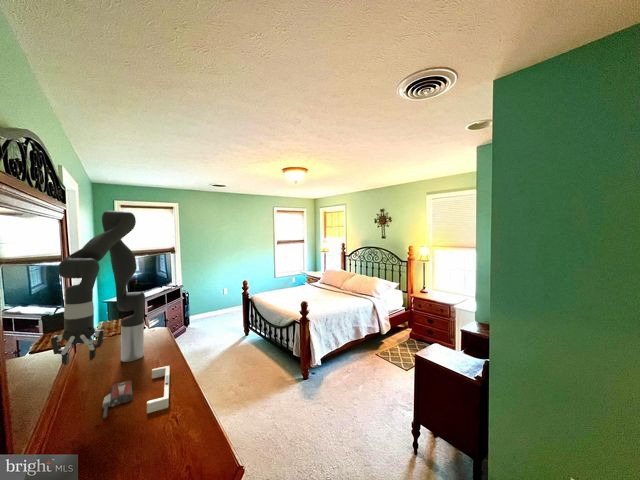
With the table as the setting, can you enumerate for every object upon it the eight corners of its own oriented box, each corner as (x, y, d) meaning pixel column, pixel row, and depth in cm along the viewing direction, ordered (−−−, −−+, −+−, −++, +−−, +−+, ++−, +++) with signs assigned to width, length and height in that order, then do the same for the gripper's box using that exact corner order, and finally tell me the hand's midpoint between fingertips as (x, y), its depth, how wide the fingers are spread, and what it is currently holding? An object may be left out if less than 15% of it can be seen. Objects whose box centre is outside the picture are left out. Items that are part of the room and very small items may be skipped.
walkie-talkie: (105, 392, 101) (100, 423, 85) (104, 381, 100) (100, 410, 84) (132, 385, 106) (133, 412, 90) (132, 374, 106) (133, 400, 90)
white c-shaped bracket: (152, 376, 111) (152, 367, 111) (169, 373, 115) (169, 364, 115) (146, 413, 89) (146, 402, 89) (168, 407, 92) (168, 396, 92)
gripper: (107, 309, 96) (107, 353, 96) (55, 314, 89) (55, 361, 89) (103, 314, 89) (103, 361, 90) (45, 321, 82) (45, 372, 82)
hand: (79, 361), depth 89 cm, fingers open, 6 cm apart
